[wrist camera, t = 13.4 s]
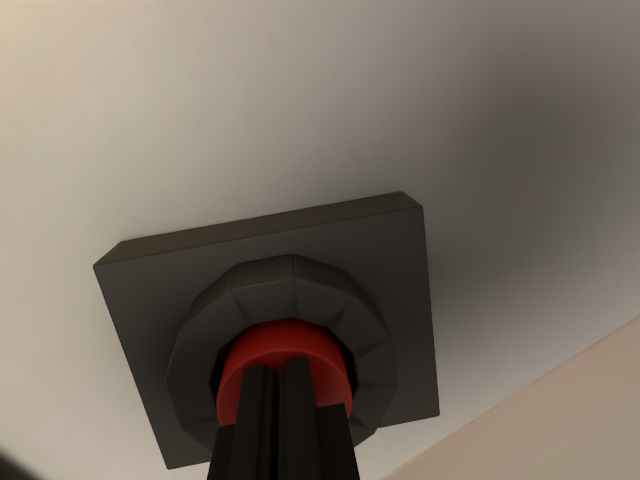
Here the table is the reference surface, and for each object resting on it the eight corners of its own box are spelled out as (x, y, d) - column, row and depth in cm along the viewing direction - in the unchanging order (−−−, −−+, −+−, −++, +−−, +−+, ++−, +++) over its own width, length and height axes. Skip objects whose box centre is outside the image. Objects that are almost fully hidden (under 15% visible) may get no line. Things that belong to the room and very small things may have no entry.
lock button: (334, 305, 12) (342, 336, 10) (350, 404, 13) (360, 447, 11) (211, 327, 12) (200, 363, 10) (239, 426, 13) (233, 472, 11)
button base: (403, 190, 14) (446, 221, 11) (421, 378, 17) (461, 456, 13) (118, 241, 14) (59, 291, 10) (181, 425, 17) (151, 519, 13)
